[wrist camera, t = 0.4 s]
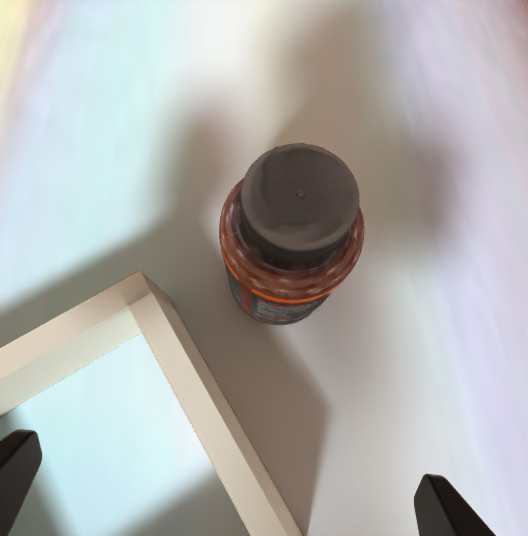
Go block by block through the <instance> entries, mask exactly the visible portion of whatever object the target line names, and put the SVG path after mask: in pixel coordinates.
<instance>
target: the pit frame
mask: <svg viewBox="0 0 528 536" xmlns="http://www.w3.org/2000/svg"><path fill="white" fill-rule="evenodd" d="M141 333H142V334H143V336H144V338H145V339H146V341H147V343H148V345H149V347H150V349H151V351H152V352H153V354H154V356H155V358H156V360H157V362H158V364H159V366H160V367H161V369H162V371H163V373H164V375H165V377H166V379H167V381H168V382H169V384H170V386H171V388H172V390H173V392H174V394H175V395H176V397H177V399H178V401H179V403H180V405H181V407H182V409H183V410H184V412H185V414H186V416H187V418H188V420H189V422H190V424H191V425H192V427H193V429H194V431H195V433H196V435H197V437H198V438H199V440H200V442H201V444H202V446H203V448H204V450H205V452H206V453H207V455H208V457H209V459H210V461H211V463H212V465H213V467H214V468H215V470H216V472H217V474H218V476H219V478H220V480H221V481H222V483H223V485H224V487H225V489H226V491H227V493H228V495H229V496H230V498H231V500H232V502H233V504H234V506H235V508H236V509H237V511H238V513H239V515H240V517H241V519H242V521H243V523H244V524H245V526H246V528H247V530H248V532H249V534H250V536H303V534H302V533H301V531H300V529H299V527H298V526H297V524H296V522H295V520H294V519H293V517H292V515H291V513H290V511H289V510H288V508H287V506H286V504H285V503H284V501H283V499H282V497H281V496H280V494H279V492H278V490H277V488H276V487H275V485H274V483H273V481H272V480H271V478H270V476H269V474H268V473H267V471H266V469H265V467H264V465H263V464H262V462H261V460H260V458H259V457H258V455H257V453H256V451H255V450H254V448H253V446H252V444H251V442H250V441H249V439H248V437H247V435H246V434H245V432H244V430H243V428H242V427H241V425H240V423H239V421H238V419H237V418H236V416H235V414H234V412H233V411H232V409H231V407H230V405H229V404H228V402H227V400H226V398H225V397H224V395H223V393H222V391H221V389H220V388H219V386H218V384H217V382H216V381H215V379H214V377H213V375H212V374H211V372H210V370H209V368H208V366H207V365H206V363H205V361H204V359H203V358H202V356H201V354H200V352H199V351H198V349H197V347H196V345H195V343H194V342H193V340H192V338H191V336H190V335H189V333H188V331H187V329H186V328H185V326H184V324H183V322H182V320H181V319H180V317H179V315H178V313H177V312H176V310H175V308H174V306H173V305H172V303H171V301H170V299H169V297H168V296H167V295H166V294H165V293H164V292H163V291H162V290H161V289H160V288H159V287H157V286H156V285H155V284H154V283H153V282H152V281H151V280H150V279H149V278H148V277H147V276H145V275H144V274H143V273H142V272H141V271H138V272H136V273H134V274H133V275H131V276H129V277H127V278H125V279H124V280H122V281H120V282H118V283H116V284H115V285H113V286H111V287H109V288H107V289H106V290H104V291H102V292H100V293H98V294H97V295H95V296H93V297H91V298H90V299H88V300H86V301H84V302H82V303H81V304H79V305H77V306H75V307H73V308H72V309H70V310H68V311H66V312H64V313H63V314H61V315H59V316H57V317H55V318H54V319H52V320H50V321H48V322H46V323H45V324H43V325H41V326H39V327H37V328H36V329H34V330H32V331H30V332H28V333H27V334H25V335H23V336H21V337H19V338H18V339H16V340H14V341H12V342H10V343H9V344H7V345H5V346H3V347H1V348H0V416H1V415H3V414H5V413H7V412H8V411H10V410H12V409H13V408H15V407H17V406H18V405H20V404H22V403H24V402H25V401H27V400H29V399H30V398H32V397H34V396H35V395H37V394H39V393H41V392H42V391H44V390H46V389H47V388H49V387H51V386H52V385H54V384H56V383H58V382H59V381H61V380H63V379H64V378H66V377H68V376H69V375H71V374H73V373H75V372H76V371H78V370H80V369H81V368H83V367H85V366H86V365H88V364H90V363H92V362H93V361H95V360H97V359H98V358H100V357H102V356H103V355H105V354H107V353H109V352H110V351H112V350H114V349H115V348H117V347H119V346H120V345H122V344H124V343H126V342H127V341H129V340H131V339H132V338H134V337H136V336H137V335H139V334H141Z"/></svg>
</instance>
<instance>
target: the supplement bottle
mask: <svg viewBox="0 0 528 536" xmlns="http://www.w3.org/2000/svg"><path fill="white" fill-rule="evenodd" d="M219 238H220V244H221V251H222V254H223V258H224V262H225V266H226V271H227V274H228V278H229V283H230V287H231V290H232V293H233V295H234V297H235V299H236V300H237V302H238V304H239V305H240V306H241V308H242V309H243V310H244V311H245V312H246V313H247V314H249V315H250V316H252V317H253V318H254V319H256V320H258V321H260V322H263V323H267V324H271V325H287V324H293V323H296V322H298V321H300V320H302V319H304V318H306V317H308V316H309V315H310V314H312V313H313V312H314V311H315V310H316V309H317V308H318V307H319V306H320V305H321V304H322V303H323V302H324V301H325V300H326V298H327V297H328V296H329V295H330V294H331V293H332V292H333V291H334V290H335V289H336V288H337V287H338V285H339V284H340V283H341V282H342V281H343V280H344V279H345V278H346V277H347V276H348V274H349V273H350V272H351V270H352V269H353V267H354V266H355V264H356V262H357V260H358V258H359V256H360V253H361V249H362V244H363V240H364V221H363V216H362V213H361V209H360V207H359V191H358V187H357V183H356V180H355V178H354V176H353V174H352V173H351V171H350V169H349V168H348V167H347V166H346V164H345V163H344V162H343V161H342V160H341V159H339V158H338V157H337V156H336V155H334V154H332V153H331V152H329V151H327V150H325V149H323V148H321V147H318V146H314V145H308V144H304V143H301V144H298V143H297V144H289V145H283V146H280V147H275V148H274V149H272V150H270V151H268V152H266V153H264V154H263V155H261V156H260V157H259V158H258V159H257V160H256V161H255V162H254V163H253V164H252V165H251V167H250V168H249V170H248V172H247V173H246V175H245V177H244V178H243V179H242V180H241V181H240V182H239V183H238V184H237V185H236V186H235V187H234V188H233V189H232V190H231V192H230V194H229V195H228V197H227V199H226V201H225V203H224V206H223V208H222V213H221V217H220V226H219Z"/></svg>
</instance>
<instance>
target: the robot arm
mask: <svg viewBox="0 0 528 536" xmlns="http://www.w3.org/2000/svg"><path fill="white" fill-rule="evenodd" d="M41 461H42V451H41V447H40V442H39V438H38V434H37V433H36V432H35V431H32V430H23V429H18V430H16V431H13V432H12V433H10V434H9V435H7V436H6V437H4V438H3V439H1V440H0V536H8V534H9V532H10V530H11V528H12V526H13V523H14V521H15V519H16V517H17V515H18V513H19V510H20V508H21V506H22V504H23V502H24V499H25V497H26V495H27V493H28V491H29V488H30V486H31V484H32V482H33V480H34V477H35V475H36V473H37V471H38V469H39V466H40V464H41ZM414 507H415V513H416V519H417V524H418V530H419V536H496V535H495V534H494V533H493V532H492V531H491V530H490V528H489V527H488V526H487V525H486V524H485V523H484V522H483V520H482V519H481V518H480V517H479V516H478V515H477V513H476V512H475V511H474V510H473V509H472V508H471V507H470V505H469V504H468V503H467V502H466V501H465V500H464V499H463V497H462V496H461V495H460V494H459V493H458V492H457V491H456V489H455V488H454V487H453V486H452V485H451V484H450V482H449V481H448V480H447V479H446V478H445V477H443V476H441V475H434V474H425V475H424V476H423V477H422V480H421V482H420V484H419V486H418V489H417V491H416V493H415V496H414Z"/></svg>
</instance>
